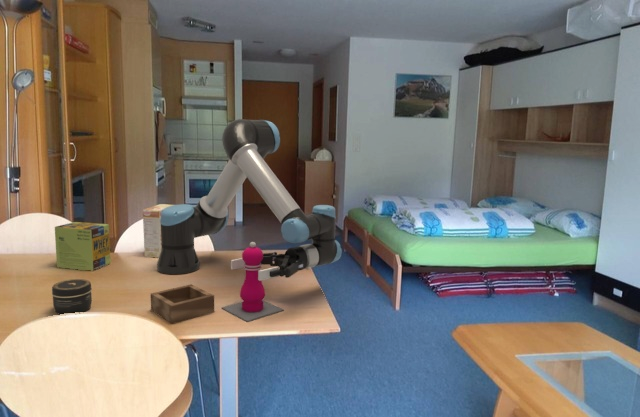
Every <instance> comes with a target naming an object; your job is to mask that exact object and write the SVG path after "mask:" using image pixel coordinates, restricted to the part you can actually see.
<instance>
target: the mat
mask: <svg viewBox="0 0 640 417" xmlns="http://www.w3.org/2000/svg"><path fill="white" fill-rule="evenodd" d="M262 301H263V309H262V310H261V311H258V312H246V311H244V310H243V309H242V302H243V301H240V302H236V303H233V304H229V305H226V306H222V307H221V310H222V311H225V312H227V313H229V314H230V315H233V316H235V317H237V318H238V319H241V320H243V321H244V322H246V323H250V322H252V321H255V320H259V319H262V318H265V317H268V316H272V315H275V314H278V313H280V312H284V311H285V309H284V308H281V307H279V306H277V305H275V304H273V303H270V302H269V301H267V300H266V301H265V300H264V299H263V300H262Z"/></svg>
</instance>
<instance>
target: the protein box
mask: <svg viewBox="0 0 640 417" xmlns="http://www.w3.org/2000/svg"><path fill="white" fill-rule="evenodd" d="M109 224H110V223H109ZM109 224H108V223H107V224H106V223H95V222H94V223H93V222H81V221H80V222H79V221H73V222H69V223H65V224H61V225H56V226H54V236H55V237H54V238H55V256H56V268H57V267H63V268H62V269H65V268H70V269H69V270H75V269H78V271H79V270H80V271H85V270H91V271H90V272H94V270H95V271H97V270H99V269H101V268H100V267H102V268H104V267H106V266H105V265H107V266H109V265H111V264H110V263H111V261H112V260H111V245H110V243H111V242H110V240H111V238H110V225H109ZM108 264H109V265H108ZM103 266H104V267H103ZM98 268H99V269H98ZM96 269H97V270H96Z"/></svg>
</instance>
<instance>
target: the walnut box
mask: <svg viewBox="0 0 640 417" xmlns="http://www.w3.org/2000/svg"><path fill="white" fill-rule="evenodd" d="M150 310H151V311H152V312H153V313H155V314H157V315H158V316H160V317H161V318H163V319H165V321H167V322H168V323H170V324H172V325H174V324H176V323H181V322H183V321H187V320H191V319H195V318H199V317H202V316H205V315H208V314H209V315H210V314H212V313H215V295H214V294H212V293H210V292H209V291H206V290H204V289H202V288H199V287H198V286H196V285H194V284H191V283H190V284H188V285H187V284H186V285H182V286H178V287H174V288H170V289H163V290H160V291H155V292H151V293H150Z"/></svg>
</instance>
